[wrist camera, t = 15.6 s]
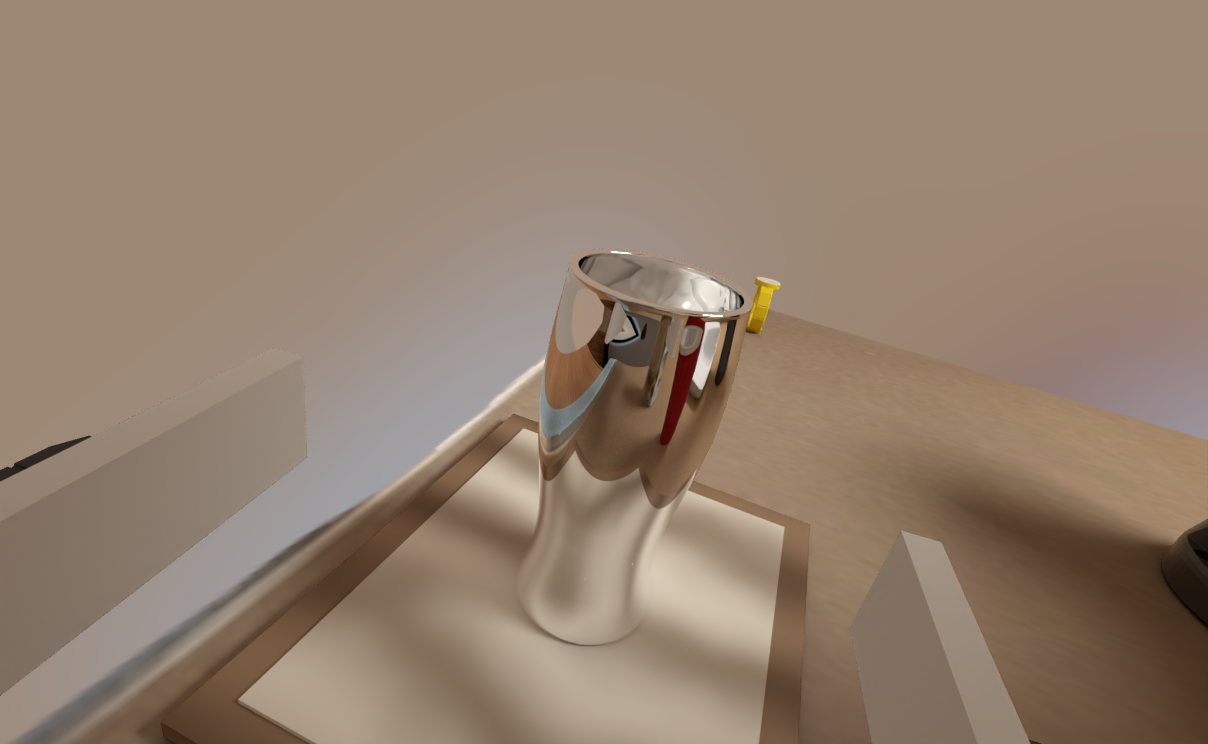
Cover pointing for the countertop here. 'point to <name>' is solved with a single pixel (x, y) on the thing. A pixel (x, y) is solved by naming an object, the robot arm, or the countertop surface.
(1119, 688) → the countertop surface
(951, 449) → the countertop surface
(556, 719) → the picture frame
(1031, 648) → the countertop surface
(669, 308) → the beer glass
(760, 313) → the watch
